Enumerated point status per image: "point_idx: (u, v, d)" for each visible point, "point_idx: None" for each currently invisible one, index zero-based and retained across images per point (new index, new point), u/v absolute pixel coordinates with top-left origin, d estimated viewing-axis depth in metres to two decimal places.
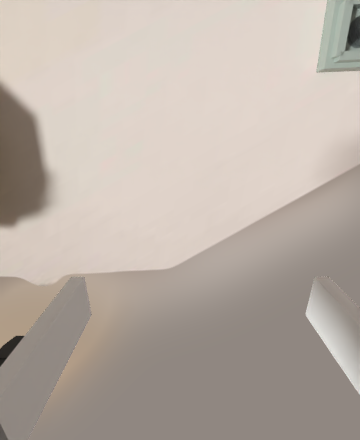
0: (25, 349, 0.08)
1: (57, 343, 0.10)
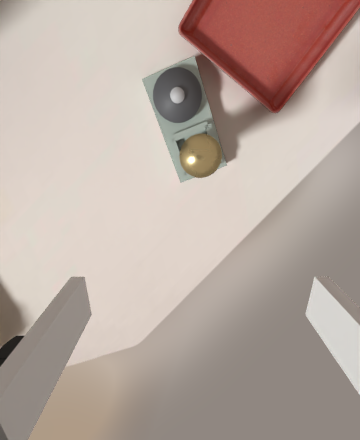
0: (25, 349, 0.08)
1: (57, 343, 0.10)
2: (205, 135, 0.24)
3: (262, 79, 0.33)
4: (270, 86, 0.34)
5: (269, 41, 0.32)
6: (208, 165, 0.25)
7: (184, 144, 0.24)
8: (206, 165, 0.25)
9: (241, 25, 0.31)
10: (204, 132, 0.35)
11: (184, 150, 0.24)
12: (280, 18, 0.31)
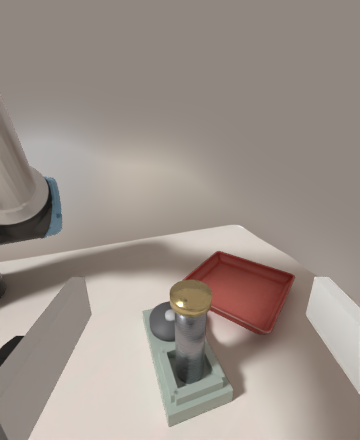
0: (25, 349, 0.08)
1: (57, 343, 0.10)
2: (194, 280, 0.26)
3: (246, 318, 0.38)
4: (255, 323, 0.38)
5: (242, 299, 0.43)
6: (199, 298, 0.23)
7: (175, 285, 0.26)
8: (197, 298, 0.23)
9: (219, 293, 0.45)
10: None
11: (175, 288, 0.25)
12: (245, 291, 0.45)
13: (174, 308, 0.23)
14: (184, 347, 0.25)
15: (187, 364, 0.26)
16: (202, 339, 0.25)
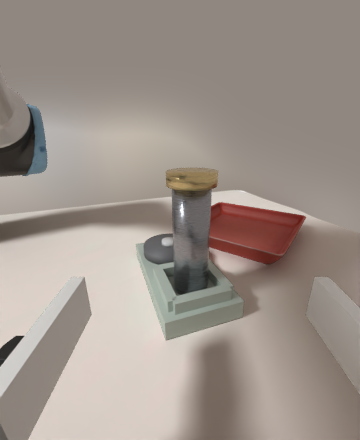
0: (25, 349, 0.08)
1: (57, 343, 0.10)
2: (195, 168, 0.22)
3: None
4: None
5: (248, 238, 0.38)
6: (202, 172, 0.19)
7: (172, 169, 0.21)
8: (200, 172, 0.19)
9: (222, 234, 0.40)
10: None
11: (172, 170, 0.20)
12: (251, 232, 0.41)
13: (171, 184, 0.19)
14: (184, 242, 0.20)
15: (187, 267, 0.21)
16: (206, 233, 0.21)
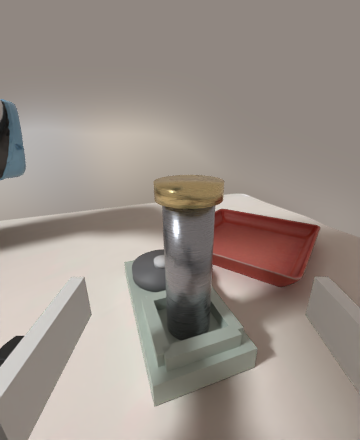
0: (25, 349, 0.08)
1: (57, 343, 0.10)
2: (194, 175, 0.17)
3: None
4: None
5: (255, 253, 0.33)
6: (202, 183, 0.14)
7: (163, 177, 0.16)
8: (199, 183, 0.14)
9: (225, 247, 0.35)
10: None
11: (163, 179, 0.15)
12: (258, 245, 0.36)
13: (160, 199, 0.14)
14: (179, 274, 0.15)
15: (183, 306, 0.16)
16: (208, 262, 0.16)
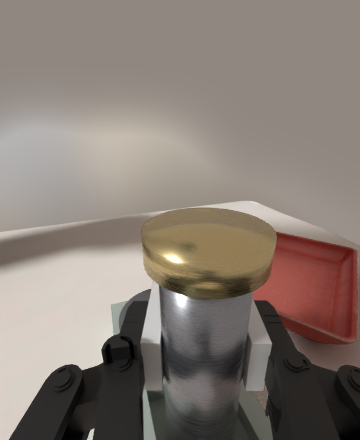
0: (156, 307, 0.10)
1: None
2: (212, 209, 0.10)
3: (293, 316, 0.22)
4: (312, 323, 0.21)
5: (279, 286, 0.26)
6: (236, 239, 0.07)
7: (161, 215, 0.09)
8: (231, 239, 0.07)
9: None
10: None
11: (160, 221, 0.09)
12: (280, 273, 0.29)
13: (154, 271, 0.07)
14: (188, 392, 0.09)
15: (195, 436, 0.09)
16: (240, 368, 0.09)
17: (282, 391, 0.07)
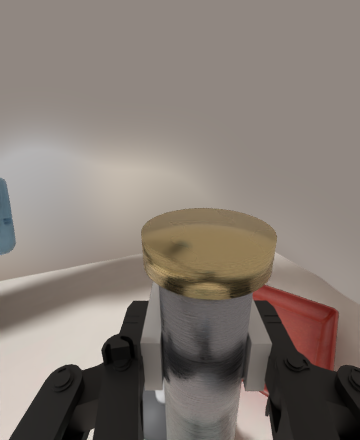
0: (156, 307, 0.10)
1: None
2: (212, 209, 0.10)
3: None
4: None
5: None
6: (236, 239, 0.07)
7: (161, 216, 0.09)
8: (231, 239, 0.07)
9: None
10: None
11: (160, 222, 0.09)
12: None
13: (154, 272, 0.07)
14: (188, 393, 0.09)
15: (195, 437, 0.09)
16: (240, 369, 0.09)
17: (282, 391, 0.07)
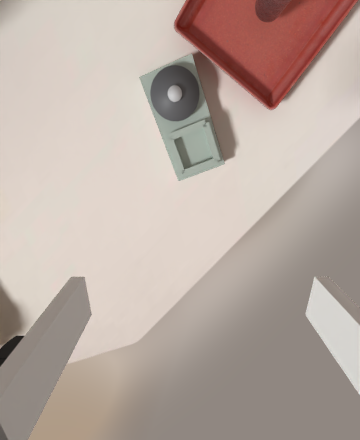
0: (25, 349, 0.08)
1: (57, 343, 0.10)
2: None
3: (258, 75, 0.33)
4: (267, 82, 0.34)
5: (265, 37, 0.32)
6: None
7: None
8: None
9: (237, 21, 0.31)
10: (202, 130, 0.35)
11: None
12: None
13: None
14: None
15: (274, 8, 0.26)
16: None
17: None
